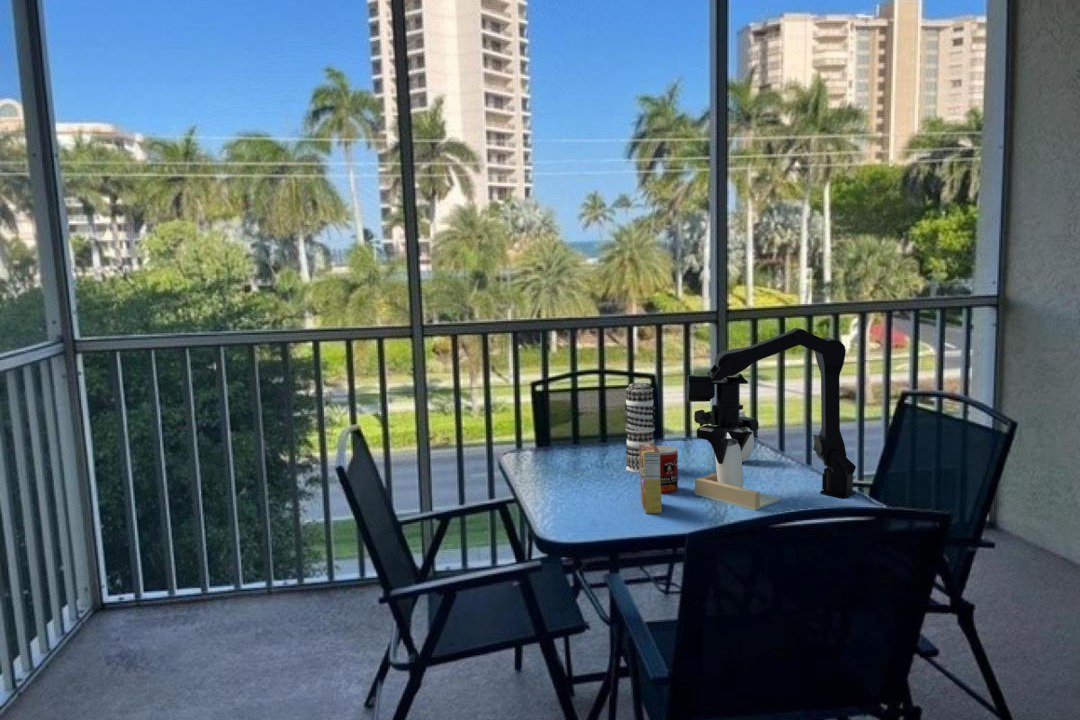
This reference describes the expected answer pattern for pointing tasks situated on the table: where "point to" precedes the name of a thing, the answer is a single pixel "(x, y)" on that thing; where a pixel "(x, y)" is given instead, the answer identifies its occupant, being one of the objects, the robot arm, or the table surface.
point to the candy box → (650, 478)
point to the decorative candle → (638, 422)
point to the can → (731, 465)
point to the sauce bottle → (749, 444)
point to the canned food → (668, 468)
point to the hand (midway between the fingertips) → (728, 461)
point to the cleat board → (731, 493)
